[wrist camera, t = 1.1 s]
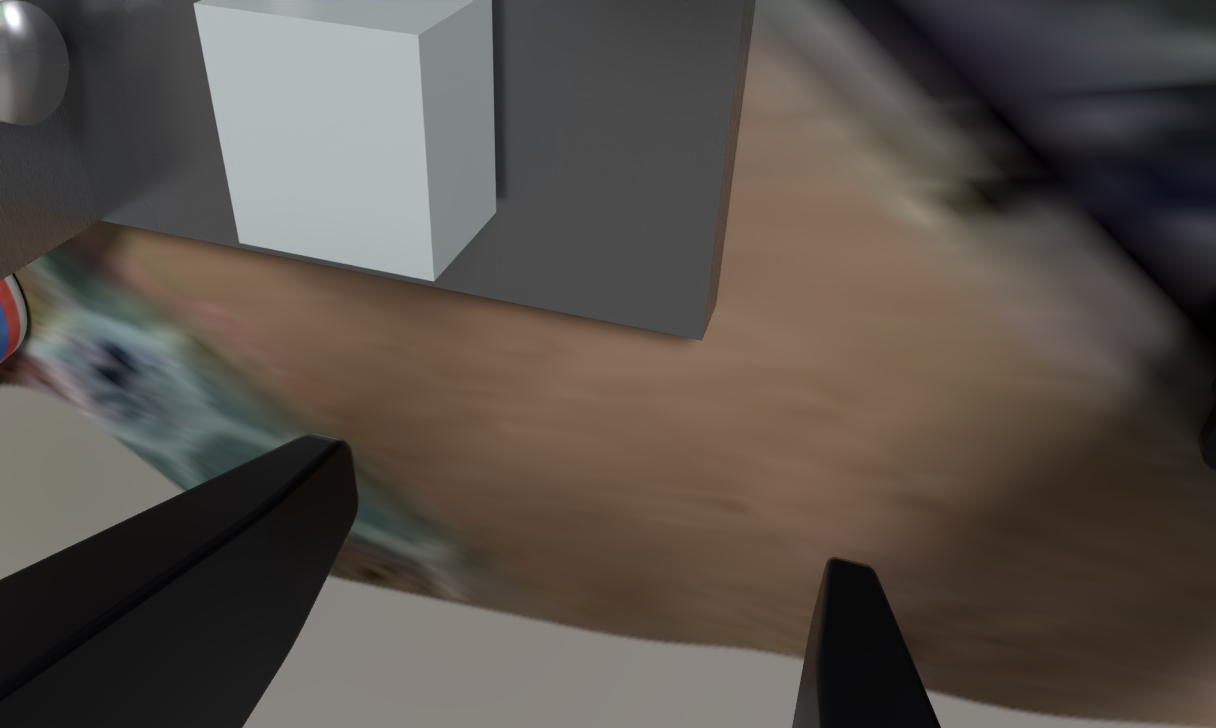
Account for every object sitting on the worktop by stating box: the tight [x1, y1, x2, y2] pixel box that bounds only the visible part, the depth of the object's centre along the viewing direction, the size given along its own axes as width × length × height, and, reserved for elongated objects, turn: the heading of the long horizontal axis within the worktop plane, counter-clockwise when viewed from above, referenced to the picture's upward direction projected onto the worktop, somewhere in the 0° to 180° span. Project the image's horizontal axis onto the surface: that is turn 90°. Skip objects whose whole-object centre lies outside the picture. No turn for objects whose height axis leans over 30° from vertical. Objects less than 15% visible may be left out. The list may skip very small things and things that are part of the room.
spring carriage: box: [193, 0, 496, 281], centre depth 17 cm, size 4×7×3 cm, turn 178°
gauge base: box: [0, 0, 756, 340], centre depth 19 cm, size 17×10×5 cm, turn 88°
